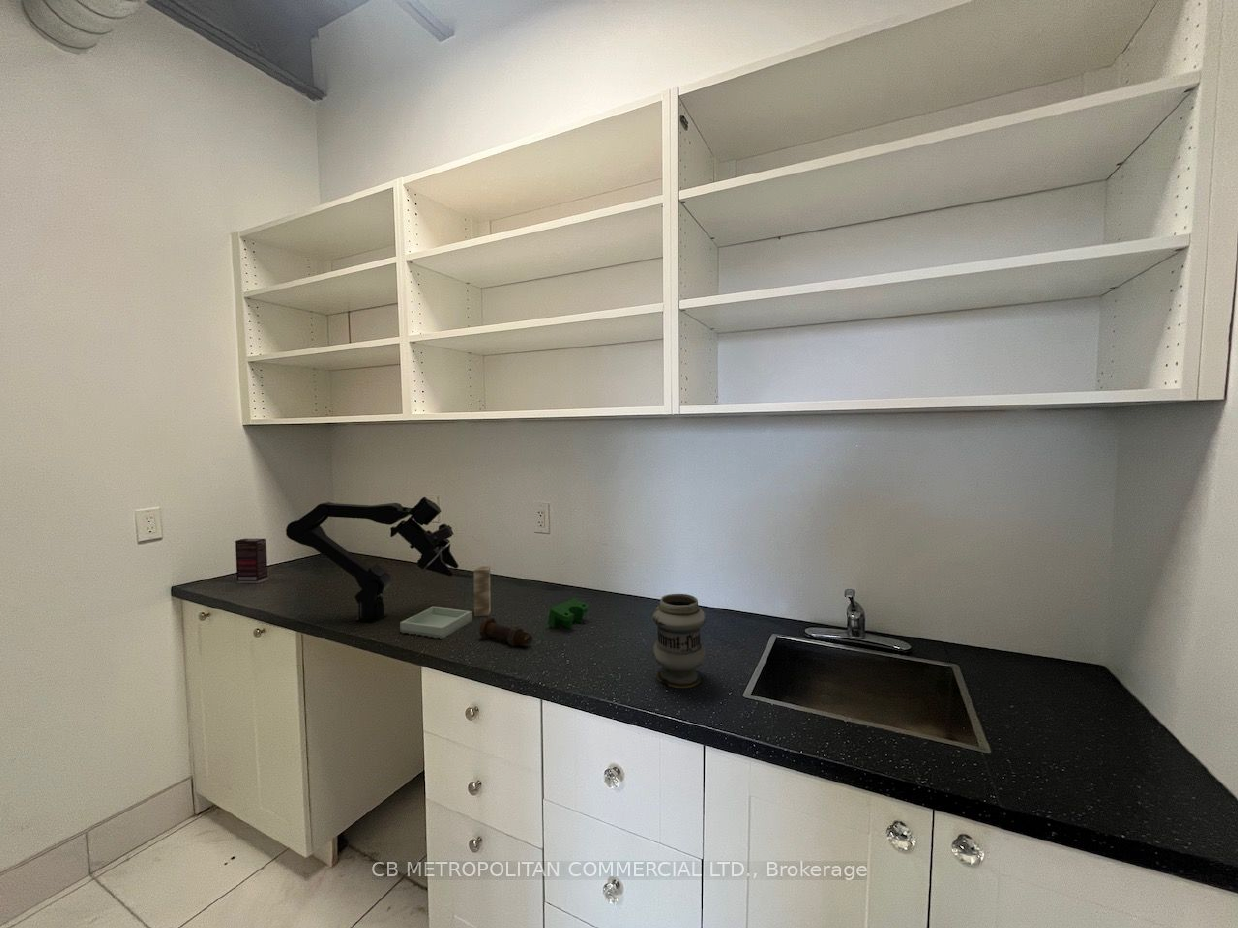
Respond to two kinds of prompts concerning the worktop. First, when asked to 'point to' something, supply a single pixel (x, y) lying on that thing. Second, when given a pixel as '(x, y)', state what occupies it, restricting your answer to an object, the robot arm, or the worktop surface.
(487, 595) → the maple block
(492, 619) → the bolt
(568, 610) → the clamp
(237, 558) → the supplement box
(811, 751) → the worktop surface
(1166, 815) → the worktop surface
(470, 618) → the tray
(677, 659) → the apothecary jar
